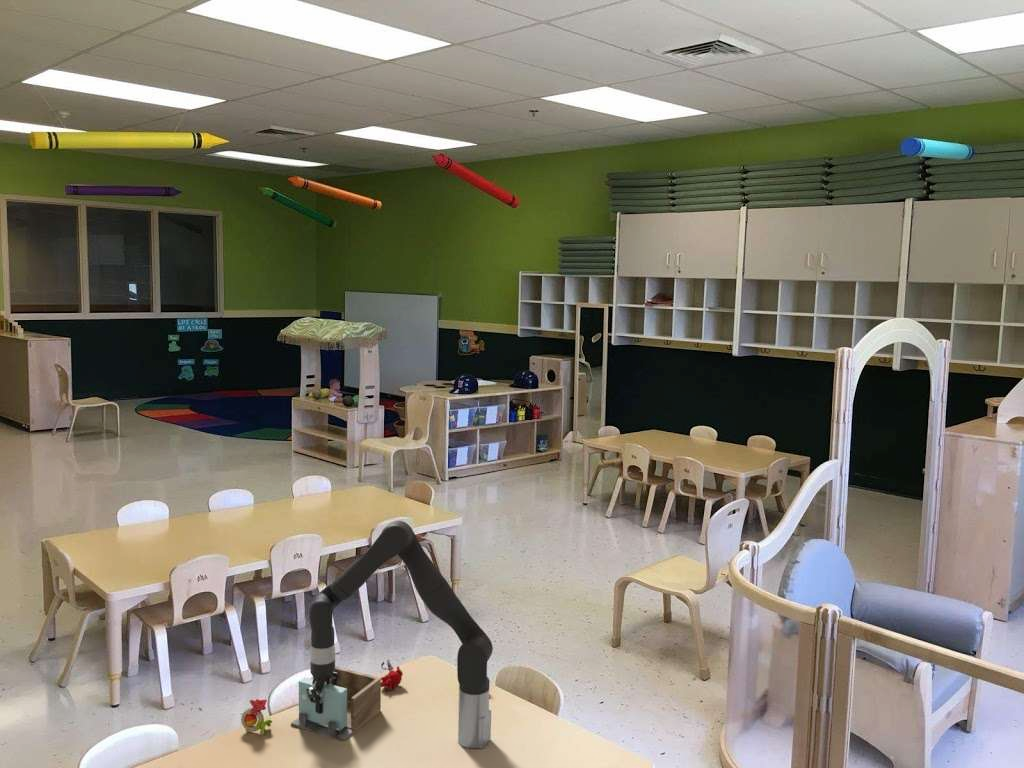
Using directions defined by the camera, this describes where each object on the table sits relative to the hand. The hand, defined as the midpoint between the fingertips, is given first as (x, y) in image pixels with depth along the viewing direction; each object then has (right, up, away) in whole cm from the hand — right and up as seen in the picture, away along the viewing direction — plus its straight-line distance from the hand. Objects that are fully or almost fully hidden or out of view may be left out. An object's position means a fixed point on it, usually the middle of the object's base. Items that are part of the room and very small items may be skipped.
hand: (322, 710), depth 268 cm
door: (0, -4, +1) cm, 4 cm away
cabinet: (+3, -5, +7) cm, 9 cm away
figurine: (+16, -3, +32) cm, 36 cm away
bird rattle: (-20, -6, -2) cm, 21 cm away
